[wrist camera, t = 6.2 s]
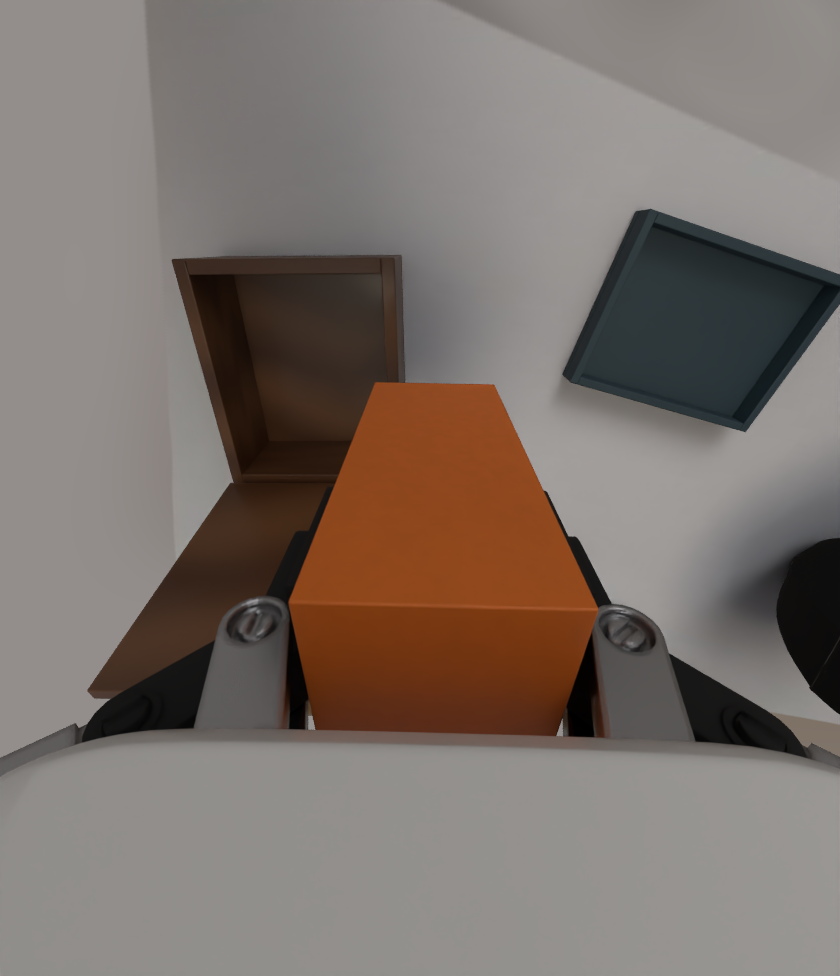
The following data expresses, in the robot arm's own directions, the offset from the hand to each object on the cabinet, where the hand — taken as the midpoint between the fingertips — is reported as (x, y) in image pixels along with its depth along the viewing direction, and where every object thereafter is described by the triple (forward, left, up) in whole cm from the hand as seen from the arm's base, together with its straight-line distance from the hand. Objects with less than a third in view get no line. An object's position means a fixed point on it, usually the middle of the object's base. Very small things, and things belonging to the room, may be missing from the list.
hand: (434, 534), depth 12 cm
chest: (-4, -7, -23) cm, 25 cm away
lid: (+2, -12, -8) cm, 15 cm away
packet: (0, 0, -6) cm, 6 cm away
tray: (+10, +17, -23) cm, 30 cm away
